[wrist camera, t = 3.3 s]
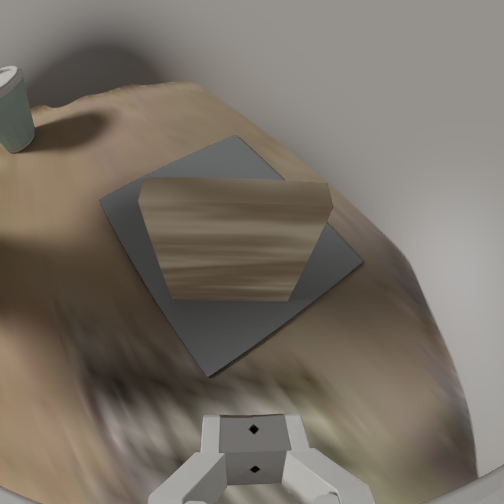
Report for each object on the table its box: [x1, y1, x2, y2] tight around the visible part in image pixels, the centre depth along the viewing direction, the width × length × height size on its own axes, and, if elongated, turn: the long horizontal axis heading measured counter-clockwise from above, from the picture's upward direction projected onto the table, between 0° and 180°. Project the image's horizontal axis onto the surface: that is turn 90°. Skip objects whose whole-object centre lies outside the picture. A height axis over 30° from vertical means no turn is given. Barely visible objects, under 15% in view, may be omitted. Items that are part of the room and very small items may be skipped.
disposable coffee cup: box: [0, 66, 35, 153], centre depth 37 cm, size 11×11×15 cm
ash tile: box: [138, 177, 333, 301], centre depth 26 cm, size 2×12×16 cm, turn 91°
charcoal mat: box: [99, 135, 363, 377], centre depth 37 cm, size 22×26×1 cm
